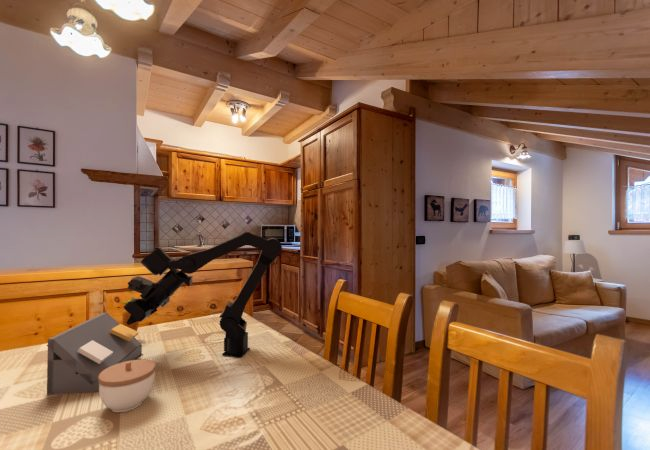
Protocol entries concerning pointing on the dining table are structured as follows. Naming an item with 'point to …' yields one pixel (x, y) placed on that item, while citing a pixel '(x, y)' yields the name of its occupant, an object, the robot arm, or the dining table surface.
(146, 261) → the robot arm
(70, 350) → the switch console
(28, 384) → the dining table surface
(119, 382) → the lidded jar
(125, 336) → the block
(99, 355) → the block
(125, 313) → the carrot
